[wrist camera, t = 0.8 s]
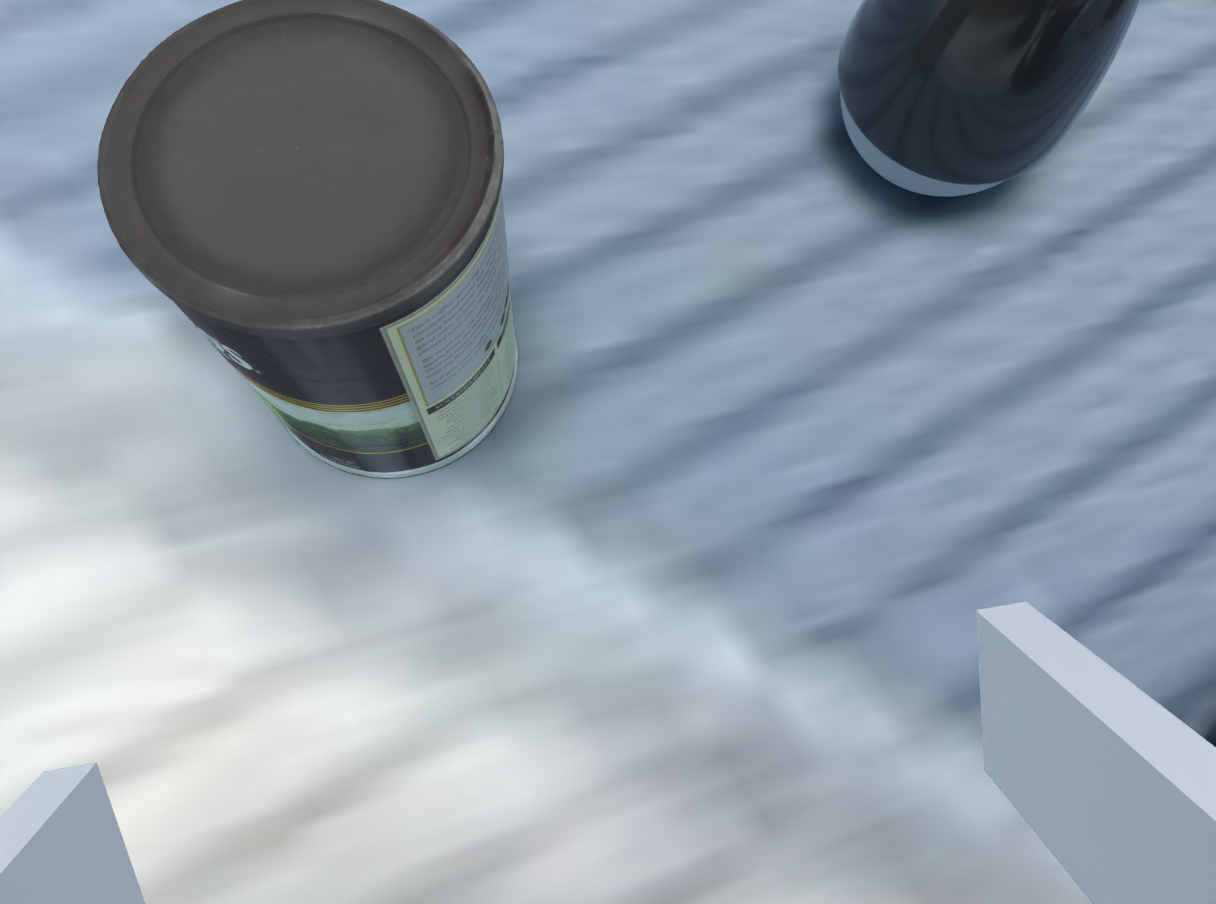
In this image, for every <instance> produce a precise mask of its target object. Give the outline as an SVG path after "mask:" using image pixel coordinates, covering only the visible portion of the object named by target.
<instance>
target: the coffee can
mask: <svg viewBox="0 0 1216 904" xmlns="http://www.w3.org/2000/svg"><path fill="white" fill-rule="evenodd" d="M503 165H504V149H503V138H502V131H501V124H500V119H499V115H498V112H497V109H496V106H495V103H494V100H493V98H492V95H491V93H490V91H489V88H488V86H487V84H486V82H485V81H484V79H483V77H482V76H481V74H480V73H479V71H478V70H477V68H476V67H475V65H474V64H473V63H472V61H471V60H470V59H469V58H468V57H467V56H466V55H465V53H464V52H463V51H462V50H461V49H460V48H459V47H458V46H457V45H456V44H455V43H454V42H453V41H452V40H450V39H449V38H448V37H447V36H446V35H444V34H443V33H442V32H441V31H439V30H438V29H437V28H435V27H434V26H432V25H431V24H429V23H428V22H426V21H425V20H423V19H421V18H419V17H417V16H415V15H413V14H411V13H409V12H407V11H405V10H403V9H400V8H398V7H396V6H393V5H390V4H387V3H385V2H382V1H379V0H242V1H239V2H236V3H233V4H230V5H228V6H225V7H222V8H220V9H218V10H215V11H213V12H211V13H208V14H206V15H204V16H202V17H200V18H198V19H196V20H194V21H192V22H191V23H189V24H187V25H186V26H184V27H182V28H181V29H179V30H177V31H176V32H174V33H173V34H172V35H170V36H169V37H168V38H167V39H165V40H164V41H163V42H161V43H160V44H159V45H158V46H157V47H156V48H154V49H153V50H152V51H151V52H150V53H149V54H148V56H147V57H146V58H145V59H144V60H142V61H141V63H140V64H139V66H138V67H137V68H136V70H135V71H134V72H133V73H132V75H131V76H130V77H129V78H128V80H127V81H126V82H125V84H124V86H123V87H122V89H121V91H120V93H119V95H118V97H117V98H116V100H115V102H114V104H113V106H112V108H111V111H110V113H109V115H108V117H107V119H106V123H105V126H104V129H103V132H102V136H101V140H100V144H99V153H98V163H97V166H98V185H99V188H100V196H101V200H102V204H103V207H104V211H105V214H106V217H107V220H108V222H109V225H110V228H111V230H112V232H113V233H114V235H115V237H116V239H117V241H118V243H119V245H120V247H121V249H122V250H123V251H124V253H125V254H126V255H127V257H128V258H129V259H130V260H131V262H132V263H133V264H134V265H135V266H136V267H137V268H138V269H139V271H140V272H141V273H142V274H143V275H144V276H145V277H146V278H147V279H148V280H149V281H150V282H151V283H152V284H153V285H154V286H155V287H156V288H158V289H159V290H160V291H161V292H162V293H164V294H165V295H166V296H167V297H169V298H170V299H171V300H173V301H174V303H175V304H176V305H177V306H178V307H179V308H180V309H181V310H182V311H183V312H184V314H185V315H186V316H187V317H188V318H189V319H190V320H191V321H192V322H193V323H194V324H195V326H196V327H197V328H198V329H199V330H200V332H201V333H202V334H203V335H204V336H205V337H206V338H207V339H208V340H209V341H210V342H211V344H212V345H213V346H214V347H215V348H216V349H217V350H218V351H219V352H220V353H221V354H222V355H223V356H224V357H225V358H226V360H227V361H228V362H229V363H230V364H231V365H232V366H233V367H234V368H235V369H236V371H237V372H238V373H239V374H240V375H241V376H242V377H243V378H244V379H245V381H246V382H247V383H248V384H249V385H250V386H251V387H252V388H253V389H254V390H255V392H256V393H257V394H258V395H259V396H260V397H261V398H262V399H263V400H264V402H265V403H266V404H267V405H268V406H269V407H270V408H271V410H272V411H273V412H274V413H275V414H276V415H277V416H278V417H279V419H280V420H281V421H282V423H283V424H284V426H285V427H286V429H287V430H288V431H289V433H290V434H291V435H292V436H293V438H294V439H295V440H296V441H297V442H299V443H300V444H301V445H302V446H303V447H304V448H305V449H306V450H307V451H309V452H310V453H311V454H313V455H314V456H315V457H317V458H319V459H320V460H322V461H323V462H325V463H327V464H329V465H331V466H334V467H336V468H338V469H340V470H342V471H345V472H349V473H352V474H357V475H361V476H367V477H375V478H400V477H407V476H413V475H418V474H422V473H426V472H430V471H432V470H435V469H438V468H441V467H443V466H445V465H448V464H450V463H452V462H454V461H455V460H457V459H458V458H460V457H462V456H463V455H464V454H466V453H467V452H469V451H470V450H472V449H473V448H474V447H475V446H476V445H478V444H479V443H480V442H481V441H482V440H483V439H484V438H485V437H486V436H487V435H488V434H489V432H490V431H491V430H492V429H493V428H494V426H495V425H496V424H497V422H498V421H499V419H500V418H501V416H502V414H503V413H504V411H505V409H506V407H507V405H508V403H509V402H510V399H511V396H512V393H513V390H514V385H515V381H516V377H517V371H518V347H517V340H516V336H515V331H514V326H513V314H512V303H511V292H510V277H509V269H508V258H507V246H506V234H505V221H504V210H503V199H502V186H501V185H502V179H503Z"/></svg>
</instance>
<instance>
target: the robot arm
mask: <svg viewBox="0 0 1216 904" xmlns="http://www.w3.org/2000/svg"><path fill="white" fill-rule="evenodd" d="M976 621H977V640H978V659H979V678H980V696H981V715H982V734H983V753H984V770H985V771H986V773H987V774H988V775H989V776H990V778H991V779H992V780H993V781H994V783H995V784H996V785H997V786H998V787H999V789H1000V790H1001V791H1002V792H1003V794H1004V795H1005V796H1006V797H1007V799H1008V800H1009V801H1010V802H1011V803H1012V805H1013V806H1014V807H1015V808H1016V810H1017V811H1018V812H1019V813H1020V815H1021V816H1022V817H1023V818H1024V819H1025V821H1026V822H1027V823H1028V824H1029V826H1030V827H1031V828H1032V829H1033V831H1034V832H1035V833H1036V834H1037V835H1038V837H1039V838H1040V839H1041V840H1042V842H1043V843H1044V844H1045V845H1046V847H1047V848H1048V849H1049V850H1050V851H1051V853H1052V854H1053V855H1054V856H1055V858H1056V859H1057V860H1058V861H1059V863H1060V864H1061V865H1062V866H1063V867H1064V869H1065V870H1066V871H1067V872H1068V874H1069V875H1070V876H1071V877H1072V879H1073V880H1074V881H1075V882H1076V883H1077V885H1078V886H1079V887H1080V888H1081V890H1082V891H1083V892H1084V893H1085V895H1086V896H1087V897H1088V898H1089V899H1090V901H1091V902H1092V903H1093V904H1216V747H1214V746H1213V745H1212V744H1211V743H1209V742H1208V741H1207V740H1205V739H1204V738H1203V737H1201V736H1200V735H1199V734H1198V733H1196V732H1195V731H1194V730H1192V729H1191V728H1190V727H1188V726H1187V725H1186V724H1185V723H1183V722H1182V721H1181V720H1179V719H1178V718H1177V717H1175V716H1174V715H1173V714H1172V713H1170V712H1169V711H1168V710H1166V709H1165V708H1164V707H1162V706H1161V705H1160V704H1159V703H1157V702H1156V701H1155V700H1153V699H1152V698H1151V697H1149V696H1148V695H1147V694H1145V693H1144V692H1143V691H1142V690H1140V689H1139V688H1138V687H1136V686H1135V685H1134V684H1132V683H1131V682H1130V681H1129V680H1127V679H1126V678H1125V677H1123V676H1122V675H1121V674H1119V673H1118V672H1117V671H1116V670H1114V669H1113V668H1112V667H1110V666H1109V665H1108V664H1106V663H1105V662H1104V661H1103V660H1101V659H1100V658H1099V657H1097V656H1096V655H1095V654H1093V653H1092V652H1091V651H1090V650H1088V649H1087V648H1086V647H1084V646H1083V645H1082V644H1080V643H1079V642H1078V641H1077V640H1075V639H1074V638H1073V637H1071V636H1070V635H1069V634H1067V633H1066V632H1065V631H1063V630H1062V629H1061V628H1060V627H1058V626H1057V625H1056V624H1054V623H1053V622H1052V621H1050V620H1049V619H1048V618H1047V617H1045V616H1044V615H1043V614H1041V613H1040V612H1039V611H1037V610H1036V609H1035V608H1034V607H1032V606H1031V605H1030V604H1028V603H1027V602H1021V603H1015V604H1009V605H1003V606H998V607H992V608H986V609H980V610H976ZM0 904H145V902H144V899H143V896H142V893H141V890H140V887H139V884H138V881H137V878H136V876H135V873H134V870H133V867H132V864H131V861H130V858H129V855H128V852H127V850H126V847H125V844H124V841H123V838H122V835H121V832H120V829H119V826H118V824H117V821H116V818H115V815H114V812H113V809H112V806H111V803H110V800H109V797H108V795H107V792H106V789H105V786H104V783H103V780H102V777H101V774H100V771H99V769H98V766H97V763H92V764H86V765H80V766H74V767H68V768H63V769H57V770H51V771H45V772H43V773H42V774H41V775H40V776H39V777H38V778H37V779H36V781H35V782H34V783H33V784H32V785H31V786H30V787H29V788H28V789H27V790H26V791H25V792H24V793H23V794H22V795H21V796H20V797H19V798H18V800H17V801H16V802H15V803H14V804H13V805H12V806H11V807H10V808H9V809H8V810H7V811H6V812H5V813H4V814H3V815H2V816H1V817H0Z"/></svg>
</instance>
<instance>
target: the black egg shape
mask: <svg viewBox="0 0 1216 904" xmlns="http://www.w3.org/2000/svg"><path fill="white" fill-rule="evenodd" d="M1139 3H1140V0H863V1H862V3H861V5H860V6H859V8H858V10H857V12H856V14H855V16H854V18H853V20H852V22H851V24H850V26H849V28H848V30H847V33H846V35H845V38H844V40H843V43H842V46H841V50H840V55H839V62H838V79H839V86H840V97H841V108H842V115H843V119H844V123H845V126H846V129H847V132H848V134H849V137H850V139H851V141H852V143H853V145H854V146H855V148H856V149H857V151H858V153H859V154H860V155H861V156H862V158H863V159H864V160H865V161H866V162H867V164H868V165H869V166H870V167H871V168H872V169H874V170H875V171H876V172H877V173H878V174H880V175H881V176H882V177H884V178H885V179H887V180H888V181H890V182H892V183H893V184H895V185H897V186H899V187H902V188H904V189H906V190H909V191H912V192H916V193H920V194H925V195H931V196H961V195H967V194H972V193H976V192H979V191H983V190H986V189H988V188H991V187H993V186H996V185H998V184H1000V183H1002V182H1004V181H1006V180H1009V179H1013V178H1015V177H1018V176H1020V175H1022V174H1024V173H1026V172H1028V171H1030V170H1032V169H1033V168H1035V167H1036V166H1038V165H1039V164H1040V163H1042V162H1043V161H1044V160H1045V159H1046V158H1047V157H1048V156H1049V155H1050V154H1051V153H1052V152H1053V151H1054V150H1055V149H1056V148H1057V147H1058V146H1059V144H1060V143H1061V142H1062V141H1063V140H1064V138H1065V137H1066V136H1067V134H1068V133H1069V132H1070V130H1071V129H1072V128H1073V126H1074V125H1075V123H1076V122H1077V120H1078V119H1079V117H1080V116H1081V114H1082V113H1083V111H1084V110H1085V108H1086V106H1087V105H1088V103H1089V102H1090V100H1091V98H1092V97H1093V95H1094V93H1095V92H1096V90H1097V88H1098V87H1099V85H1100V83H1101V82H1102V80H1103V78H1104V76H1105V75H1106V73H1107V71H1108V69H1109V68H1110V66H1111V64H1112V62H1113V60H1114V58H1115V56H1116V54H1117V52H1118V50H1119V48H1120V46H1121V44H1122V42H1123V40H1124V38H1125V36H1126V33H1127V31H1128V29H1129V27H1130V25H1131V22H1132V20H1133V17H1134V15H1135V13H1136V10H1137V8H1138V5H1139Z"/></svg>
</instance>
